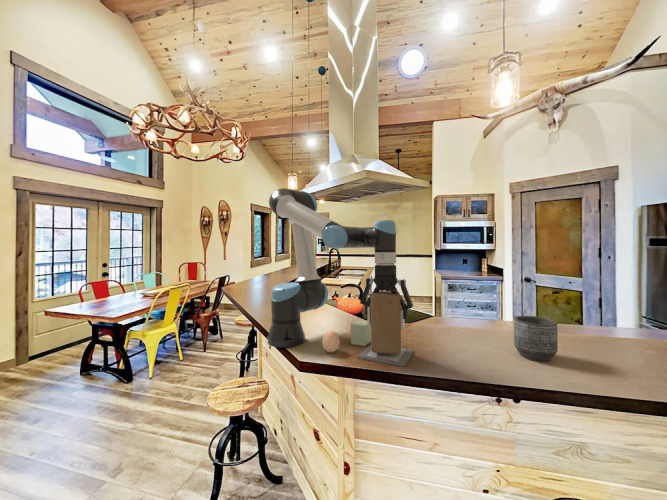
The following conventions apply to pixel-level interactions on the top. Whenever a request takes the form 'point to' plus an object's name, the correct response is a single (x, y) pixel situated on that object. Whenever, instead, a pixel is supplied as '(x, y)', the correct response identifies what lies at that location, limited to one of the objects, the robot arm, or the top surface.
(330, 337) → the egg
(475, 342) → the top surface
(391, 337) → the wooden block
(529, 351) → the planter
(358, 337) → the sage block
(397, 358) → the slate mat
